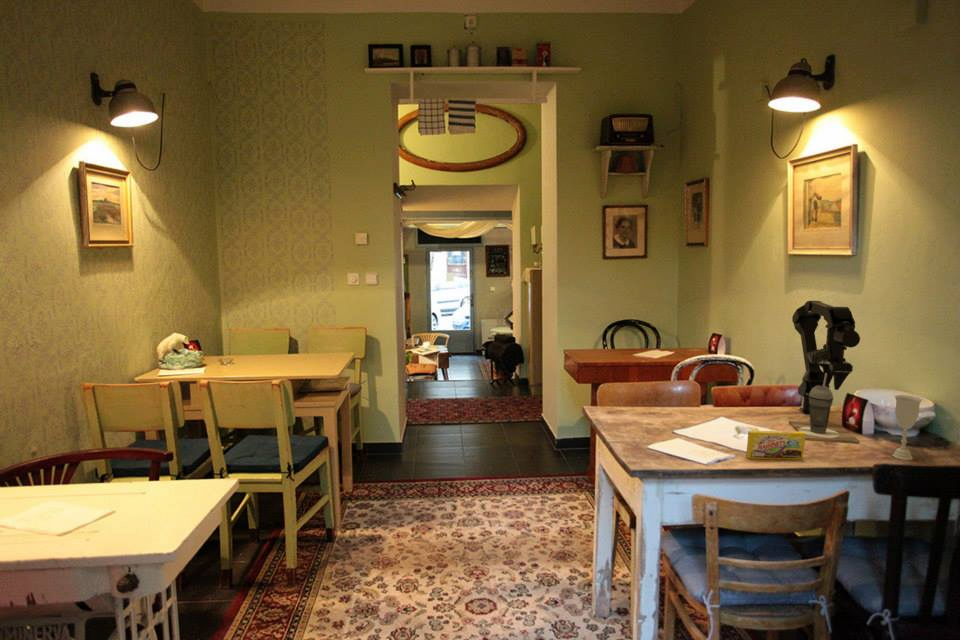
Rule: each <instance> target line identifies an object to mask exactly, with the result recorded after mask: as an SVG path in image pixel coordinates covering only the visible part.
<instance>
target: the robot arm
mask: <svg viewBox="0 0 960 640" xmlns="http://www.w3.org/2000/svg"><path fill="white" fill-rule="evenodd" d="M822 317H823V321H825V322H826V323H827V324H826V325H825V328H826V332H827V333H826V340H825V341H826V343H824V344H823V345H822V348H820V349H818V346H817V339H816V334H815V332H816V330H817V329H818V326H819V321H820V320H821V318H822ZM791 321H792V324H793V326H794V329H795V331H797V333H798V334H799V335H800V340H801V346H802V353H803V354H802V355H803V361H804V366H805V368H804V369H805V373H804V375H803V377H802V379H801V380H802V382H801V384H800V385H799V386H798V388H797V394H798V395H799V396H801V397H803V398H802V407H799V410H800V411H801V412H802V413H803V414H805V415H806V414H808V415H810V402H809V393H810V391H811V390H812V388H814V387H815V386H818V385H823V382H824V377H825V373H827V376H826V382H825V386H826V387H828V388H829V389H830V383H831V381H832V380H833V387H834V390H835V391H838V390H839V389H840V388H841V386H842V385H843V383H844V382H845V380H846V379H847V378H848V376H849V374H851V373H852V372H853V370H854V369H853V368H854V365H852V364H851V363H850V362H848V361H846V358H845V351H847V349H848V348H854V347H857V346H858V345H859V344H860V341H861V337H860V335H859V333H858V332H857V331H856V330H855V328H856V321H855V319H854V317H853V313H852V310H851V309H850V307H848V306H833V305H830V304H828V303H825V302H823V301H820V300H808V301H806V302H805V303H804V304H803V305H802V306H800V307H798V308H797V309H796V310H795V311H794V313H793V314H792V318H791ZM847 347H848V348H847ZM821 368H822V369H821Z"/></svg>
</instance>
